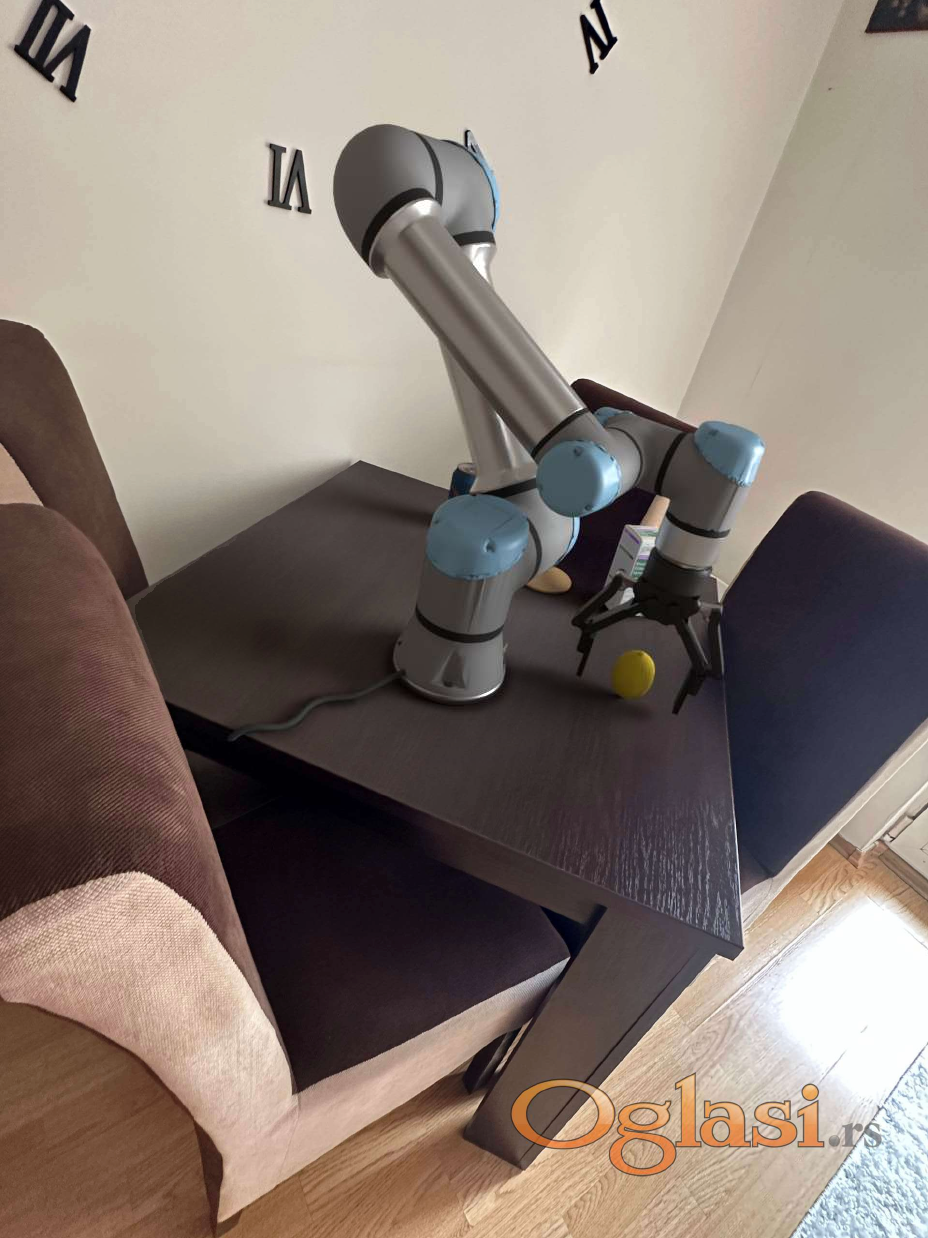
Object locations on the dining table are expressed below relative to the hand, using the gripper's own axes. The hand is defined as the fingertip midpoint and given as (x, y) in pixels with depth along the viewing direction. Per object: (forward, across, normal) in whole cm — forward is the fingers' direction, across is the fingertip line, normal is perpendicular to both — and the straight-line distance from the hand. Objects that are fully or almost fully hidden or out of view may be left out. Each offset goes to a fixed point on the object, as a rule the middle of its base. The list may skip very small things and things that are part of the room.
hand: (627, 689), depth 90 cm
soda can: (+1, +39, -32) cm, 51 cm away
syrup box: (+2, +5, -24) cm, 25 cm away
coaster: (+1, +20, -24) cm, 31 cm away
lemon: (+2, 0, 0) cm, 2 cm away
